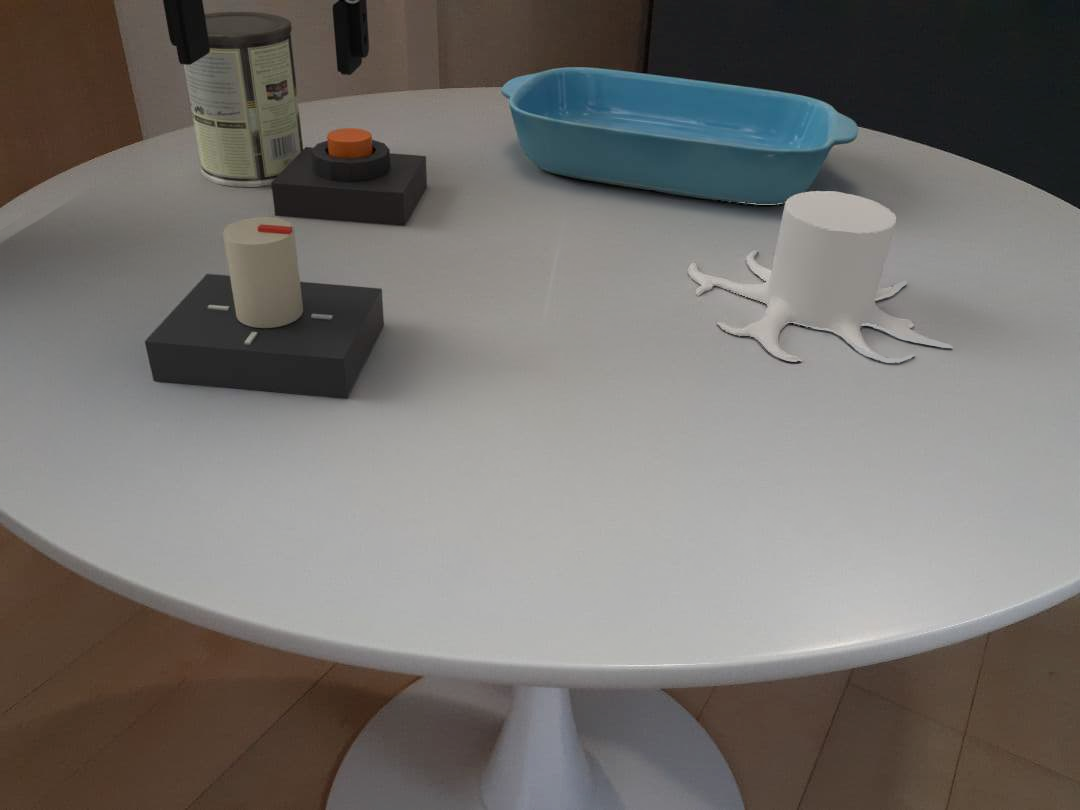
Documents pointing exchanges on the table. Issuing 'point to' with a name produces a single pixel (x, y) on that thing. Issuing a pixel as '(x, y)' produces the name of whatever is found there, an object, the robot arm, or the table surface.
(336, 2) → the robot arm
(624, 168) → the casserole dish
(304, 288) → the dial panel
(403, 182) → the button base
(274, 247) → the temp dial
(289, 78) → the coffee can
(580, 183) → the table surface
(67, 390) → the table surface
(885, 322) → the tree stump
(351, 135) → the power button
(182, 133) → the table surface
